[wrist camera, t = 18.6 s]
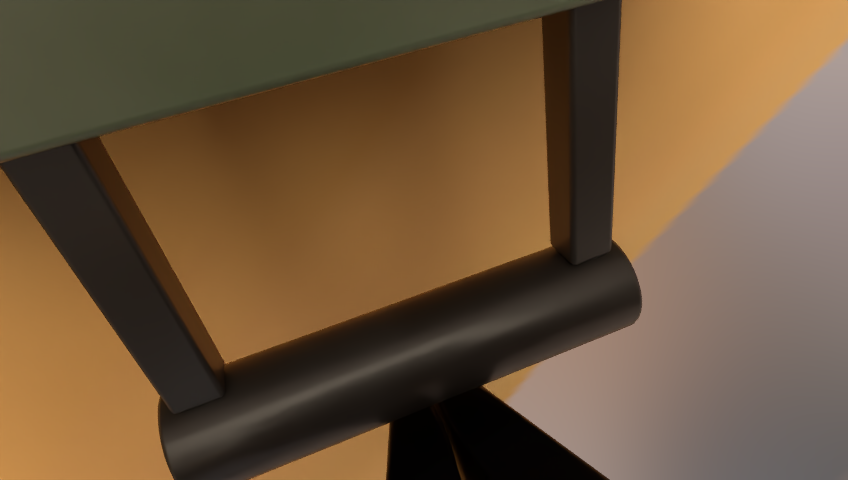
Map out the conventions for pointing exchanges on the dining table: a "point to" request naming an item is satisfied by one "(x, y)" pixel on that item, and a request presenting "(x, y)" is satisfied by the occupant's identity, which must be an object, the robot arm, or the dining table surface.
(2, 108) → the drawer
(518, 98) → the dining table surface
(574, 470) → the robot arm
